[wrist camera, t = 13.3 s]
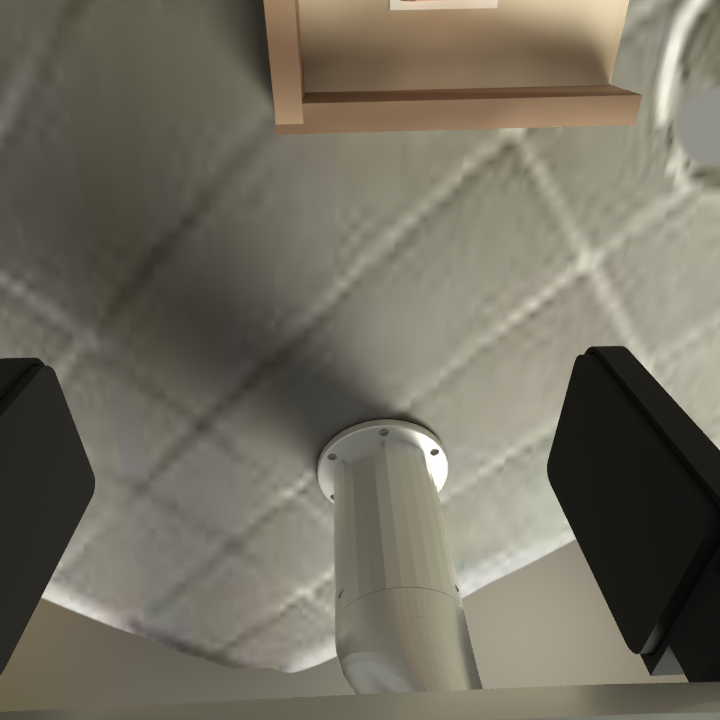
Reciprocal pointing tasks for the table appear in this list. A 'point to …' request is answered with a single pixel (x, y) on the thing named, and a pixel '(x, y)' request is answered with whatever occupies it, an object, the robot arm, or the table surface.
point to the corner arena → (445, 64)
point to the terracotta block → (420, 0)
